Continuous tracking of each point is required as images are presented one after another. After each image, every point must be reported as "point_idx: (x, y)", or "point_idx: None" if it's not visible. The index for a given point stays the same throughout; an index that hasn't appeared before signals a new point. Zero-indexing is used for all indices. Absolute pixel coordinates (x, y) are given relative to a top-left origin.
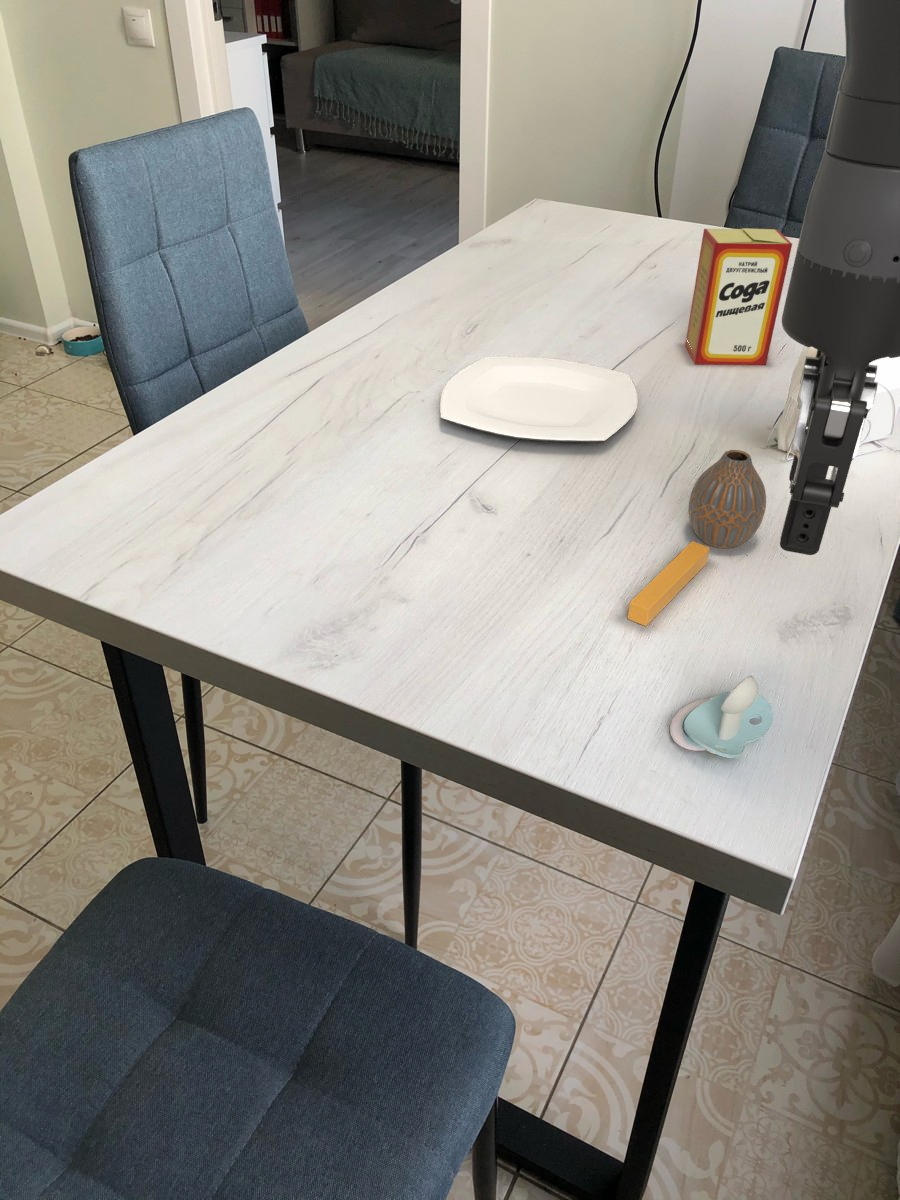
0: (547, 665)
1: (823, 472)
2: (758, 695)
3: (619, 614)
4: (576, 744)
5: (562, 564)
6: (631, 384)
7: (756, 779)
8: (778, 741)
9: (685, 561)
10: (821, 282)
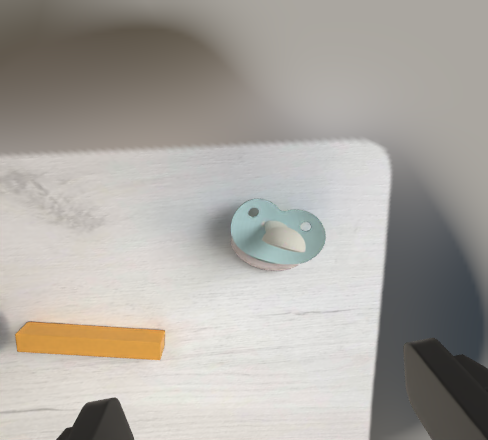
0: (260, 370)
1: (98, 436)
2: (232, 221)
3: None
4: (335, 317)
5: None
6: None
7: (305, 188)
8: (249, 185)
9: (58, 344)
10: None
